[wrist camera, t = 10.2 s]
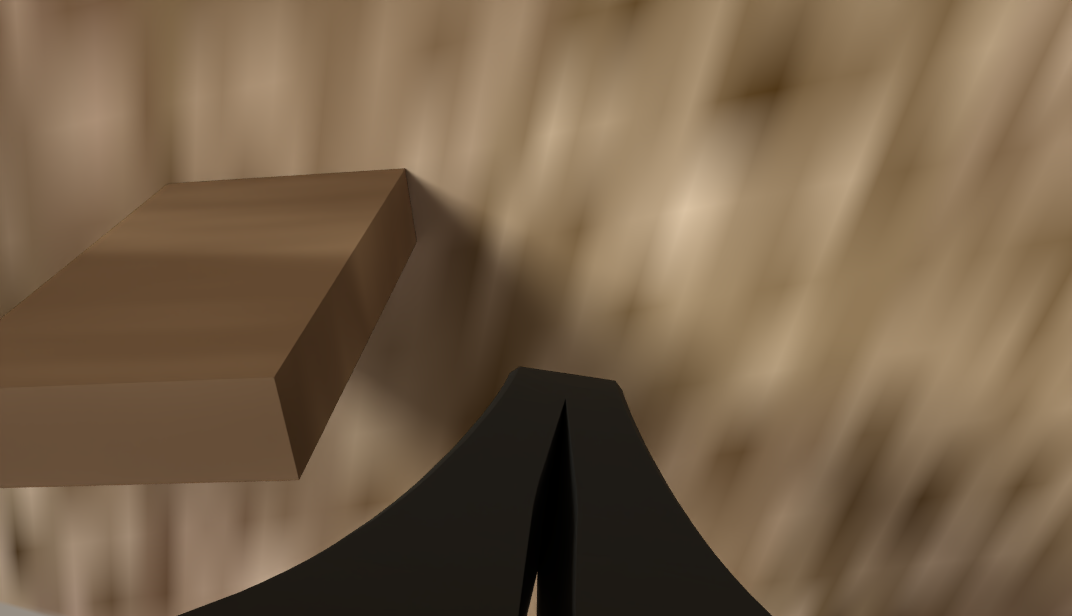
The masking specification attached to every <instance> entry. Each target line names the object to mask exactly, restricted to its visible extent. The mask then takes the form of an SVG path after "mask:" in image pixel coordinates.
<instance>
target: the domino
mask: <svg viewBox="0 0 1072 616" xmlns="http://www.w3.org/2000/svg"><path fill="white" fill-rule="evenodd" d="M416 242H417V241H416V234H415V228H414V222H413V216H412V209H411V203H410V197H409V190H408V184H407V178H406V171H405V169H390V170H374V171H358V172H343V173H327V174H312V175H296V176H280V177H265V178H249V179H233V180H218V181H202V182H186V183H171V184H167V185H166V186H164V187H163V188H162V189H161V190H159V191H158V192H157V193H156V194H154V195H153V196H152V197H151V198H149V199H148V200H147V201H146V202H145V203H143V204H142V205H141V206H140V207H138V208H137V209H136V210H135V211H133V212H132V213H131V214H130V215H128V216H127V217H126V218H125V219H123V220H122V221H121V222H120V223H119V224H117V225H116V226H115V227H114V228H112V229H111V230H110V231H109V232H107V233H106V234H105V235H104V236H102V237H101V238H100V239H99V240H98V241H96V242H95V243H94V244H93V245H91V246H90V247H89V248H88V249H86V250H85V251H84V252H83V253H81V254H80V255H79V256H78V257H76V258H75V259H74V260H73V261H72V262H70V263H69V264H68V265H67V266H65V267H64V268H63V269H62V270H60V271H59V272H58V273H57V274H55V275H54V276H53V277H52V278H51V279H49V280H48V281H47V282H46V283H44V284H43V285H42V286H41V287H39V288H38V289H37V290H36V291H34V292H33V293H32V294H31V295H29V296H28V297H27V298H26V299H25V300H23V301H22V302H21V303H20V304H18V305H17V306H16V307H15V308H13V309H12V310H11V311H10V312H8V313H7V314H6V315H5V316H4V317H2V318H1V319H0V488H20V487H58V486H96V485H133V484H171V483H209V482H247V481H285V480H299V479H300V477H301V475H302V473H303V471H304V469H305V467H306V465H307V463H308V461H309V459H310V457H311V455H312V453H313V451H314V449H315V447H316V445H317V443H318V441H319V439H320V437H321V435H322V433H323V431H324V429H325V426H326V424H327V422H328V420H329V418H330V416H331V414H332V412H333V410H334V408H335V406H336V404H337V402H338V400H339V398H340V396H341V394H342V392H343V390H344V388H345V386H346V384H347V382H348V380H349V378H350V376H351V374H352V372H353V370H354V368H355V366H356V364H357V362H358V360H359V358H360V356H361V354H362V352H363V350H364V348H365V346H366V344H367V341H368V339H369V337H370V335H371V333H372V331H373V329H374V327H375V325H376V323H377V321H378V319H379V317H380V315H381V313H382V311H383V309H384V307H385V305H386V303H387V301H388V299H389V297H390V295H391V293H392V291H393V289H394V287H395V285H396V283H397V281H398V279H399V277H400V275H401V273H402V271H403V269H404V267H405V265H406V263H407V261H408V259H409V257H410V254H411V252H412V250H413V248H414V246H415V244H416Z"/></svg>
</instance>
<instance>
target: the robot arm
mask: <svg viewBox="0 0 1072 616" xmlns="http://www.w3.org/2000/svg"><path fill="white" fill-rule="evenodd" d="M537 571H538V575H537ZM536 575H537V616H772V615H771V614H770V613H769V612H768V611H767V610H766V609H765V608H764V607H763V606H762V605H761V604H760V603H759V602H758V601H756V600H755V599H754V598H753V597H752V596H751V595H750V594H749V593H748V591H747V590H746V589H745V588H744V587H743V586H742V585H741V584H740V583H739V582H738V581H737V580H736V578H735V577H734V576H733V575H732V574H731V573H730V572H729V570H728V569H727V568H726V567H725V566H724V564H723V563H722V562H721V561H720V560H719V558H718V557H717V556H716V555H715V554H714V552H713V551H712V550H711V548H710V547H709V546H708V544H707V543H706V542H705V540H704V539H703V538H702V536H701V535H700V534H699V532H698V531H697V529H696V528H695V527H694V525H693V524H692V522H691V521H690V519H689V518H688V516H687V515H686V513H685V512H684V510H683V509H682V507H681V506H680V504H679V503H678V501H677V500H676V498H675V496H674V495H673V493H672V491H671V490H670V488H669V486H668V485H667V483H666V481H665V480H664V478H663V476H662V474H661V472H660V471H659V469H658V467H657V465H656V463H655V462H654V460H653V458H652V456H651V455H650V453H649V451H648V449H647V447H646V445H645V443H644V441H643V439H642V437H641V435H640V433H639V430H638V428H637V426H636V424H635V422H634V420H633V417H632V415H631V413H630V410H629V408H628V405H627V403H626V400H625V397H624V394H623V391H622V389H621V388H620V387H619V385H618V384H617V382H616V381H612V380H606V379H599V378H593V377H586V376H579V375H573V374H566V373H559V372H553V371H546V370H540V369H533V368H526V367H518V368H517V369H515V370H514V371H512V372H511V373H510V374H509V376H508V378H507V380H506V382H505V383H504V385H503V387H502V388H501V390H500V391H499V393H498V394H497V396H496V397H495V399H494V400H493V401H492V403H491V404H490V405H489V407H488V408H487V409H486V410H485V412H484V413H483V414H482V416H481V417H480V418H479V419H478V420H477V421H476V423H475V424H474V425H473V426H472V427H471V428H470V430H469V431H468V432H467V433H466V434H465V435H464V436H463V438H462V439H461V440H460V441H459V442H458V443H457V444H456V445H455V446H454V448H453V449H452V450H451V451H450V452H449V453H448V454H447V455H445V456H444V457H443V458H442V459H441V460H440V461H439V462H438V463H437V464H436V465H435V466H434V467H433V468H432V469H431V470H430V471H429V472H428V473H427V474H426V475H425V476H424V477H423V478H422V479H421V480H420V481H418V482H417V483H416V484H415V485H414V486H413V487H412V488H410V489H409V490H408V491H407V492H406V493H405V494H403V495H402V496H401V497H400V498H398V499H397V500H396V501H395V502H394V503H392V504H391V505H390V506H388V507H387V508H386V509H384V510H383V511H382V512H380V513H379V514H378V515H377V516H375V517H374V518H373V519H371V520H370V521H368V522H367V523H365V524H364V525H362V526H361V527H359V528H358V529H356V530H355V531H353V532H352V533H350V534H349V535H347V536H346V537H344V538H343V539H341V540H340V541H338V542H337V543H335V544H334V545H332V546H331V547H329V548H327V549H326V550H324V551H322V552H321V553H319V554H317V555H316V556H314V557H312V558H310V559H308V560H306V561H305V562H303V563H301V564H299V565H297V566H295V567H293V568H291V569H289V570H287V571H285V572H283V573H281V574H279V575H277V576H275V577H272V578H270V579H268V580H266V581H264V582H262V583H260V584H258V585H255V586H253V587H251V588H248V589H246V590H244V591H241V592H239V593H236V594H234V595H231V596H228V597H226V598H223V599H221V600H218V601H215V602H213V603H210V604H207V605H205V606H202V607H199V608H197V609H194V610H191V611H189V612H186V613H183V614H181V615H178V616H527V613H528V609H529V605H530V600H531V596H532V592H533V588H534V584H535V580H536Z"/></svg>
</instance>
